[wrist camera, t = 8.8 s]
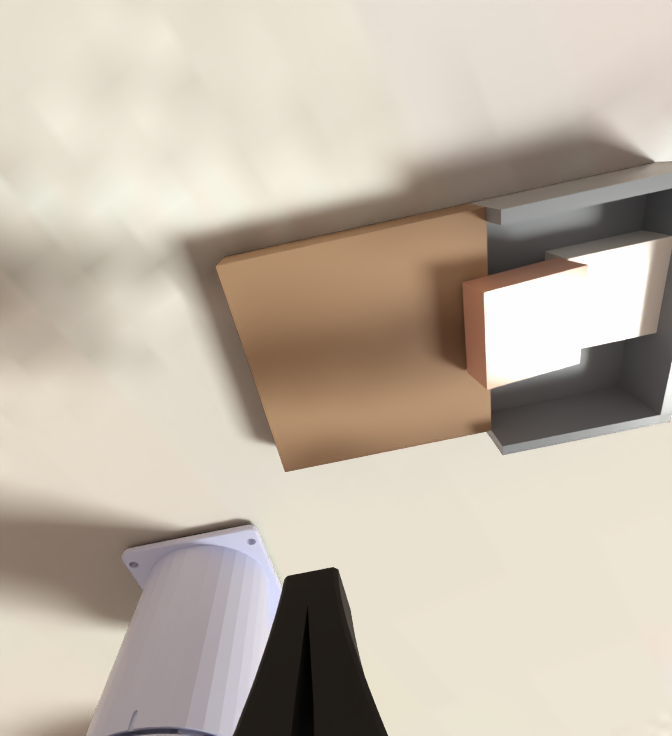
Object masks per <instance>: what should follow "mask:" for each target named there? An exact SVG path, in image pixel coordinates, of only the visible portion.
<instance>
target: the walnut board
mask: <svg viewBox="0 0 672 736" xmlns="http://www.w3.org/2000/svg"><path fill="white" fill-rule="evenodd" d="M215 267H216V270H217V273H218V275H219V278H220V281H221V284H222V287H223V290H224V293H225V296H226V299H227V302H228V305H229V308H230V311H231V314H232V317H233V320H234V323H235V326H236V329H237V332H238V335H239V337H240V340H241V343H242V346H243V349H244V352H245V355H246V358H247V361H248V364H249V367H250V370H251V373H252V376H253V379H254V382H255V385H256V388H257V391H258V394H259V396H260V399H261V402H262V405H263V408H264V411H265V414H266V417H267V420H268V423H269V426H270V429H271V432H272V435H273V438H274V441H275V444H276V447H277V450H278V453H279V456H280V458H281V461H282V464H283V467H284V470H285V472H288V471H293V470H298V469H303V468H308V467H313V466H318V465H323V464H328V463H333V462H338V461H343V460H348V459H353V458H358V457H363V456H368V455H373V454H377V453H382V452H387V451H392V450H397V449H402V448H407V447H412V446H417V445H422V444H427V443H432V442H437V441H442V440H447V439H452V438H457V437H462V436H467V435H472V434H477V433H482V432H487V431H491V395H490V389H488V390H487V389H486V388H484V387H483V386H482V385H481V384H480V383H479V382H477V381H476V380H475V379H474V378H473V377H472V376H471V375H469V374H468V373H467V360H466V342H465V324H464V307H463V289H462V282H466V281H470V280H474V279H477V278H481V277H485V276H488V262H487V218H486V207H484V206H479V205H473V204H463V205H459V206H454V207H449V208H445V209H440V210H436V211H431V212H427V213H422V214H418V215H413V216H409V217H404V218H400V219H395V220H390V221H386V222H381V223H377V224H372V225H368V226H363V227H359V228H354V229H350V230H345V231H340V232H336V233H331V234H327V235H322V236H318V237H313V238H309V239H304V240H300V241H295V242H290V243H286V244H281V245H277V246H272V247H268V248H263V249H259V250H254V251H250V252H245V253H240V254H236V255H231V256H227V257H224V258H223V259H222V260H221V261H220V262H219V263H218V264H217V265H216V266H215Z"/></svg>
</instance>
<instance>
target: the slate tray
mask: <svg viewBox="0 0 672 736" xmlns="http://www.w3.org/2000/svg"><path fill="white" fill-rule="evenodd" d="M468 204H473V205H479V206H484V207H486V218H487V262H488V276H489V275H493V274H496V273H500V272H504V271H508V270H512V269H516V268H519V267H523V266H527V265H531V264H535V263H538V262H542V261H545V251H549V250H553V249H558V248H562V247H567V246H572V245H576V244H581V243H585V242H590V241H595V240H599V239H604V238H608V237H613V236H618V235H622V234H627V233H631V232H636V231H640V230H643V231H649V232H655V233H661V234H667V235H672V161H670V162H654V163H649V164H645V165H640V166H636V167H631V168H627V169H622V170H618V171H613V172H609V173H604V174H599V175H595V176H590V177H586V178H581V179H577V180H572V181H568V182H563V183H559V184H554V185H549V186H545V187H540V188H536V189H531V190H527V191H522V192H518V193H513V194H509V195H504V196H499V197H495V198H490V199H486V200H481V201H477V202H472V203H468ZM490 395H491V431H487V433H488V435H489V436H490V437H491V439H492V440H493V442H494V443H495V445H496V446H497V448H498V449H499V450H500V452H501V453H502V455H506V454H511V453H516V452H521V451H526V450H531V449H536V448H541V447H546V446H551V445H556V444H561V443H566V442H571V441H576V440H581V439H586V438H591V437H596V436H601V435H606V434H611V433H616V432H621V431H626V430H631V429H636V428H641V427H646V426H651V425H656V424H661V423H666V422H670V419H671V415H672V251H671V256H670V262H669V267H668V272H667V278H666V283H665V289H664V294H663V299H662V305H661V310H660V315H659V321H658V326H657V332H656V333H653V334H648V335H644V336H639V337H634V338H629V339H624V340H620V341H615V342H610V343H605V344H601V345H596V346H591V347H586V348H581V352H580V362H579V364H575V365H572V366H568V367H565V368H561V369H558V370H554V371H551V372H547V373H544V374H540V375H537V376H533V377H530V378H527V379H523V380H520V381H516V382H513V383H509V384H506V385H502V386H499V387H495V388H492V389H490Z"/></svg>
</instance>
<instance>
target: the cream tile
mask: <svg viewBox="0 0 672 736" xmlns="http://www.w3.org/2000/svg"><path fill="white" fill-rule="evenodd" d="M671 251H672V235H667V234H661V233H655V232H649V231H643V230H640V231H636V232H631V233H627V234H622V235H618V236H613V237H608V238H604V239H599V240H595V241H590V242H585V243H581V244H576V245H572V246H567V247H562V248H558V249H553V250H549V251H545V261H546V260H550V259H554V258H561V259H565V260H570V261H574V262H578V263H582V264H587V265H588V275H587V286H586V297H585V308H584V319H583V330H582V341H581V348H586V347H591V346H596V345H601V344H605V343H610V342H615V341H620V340H624V339H629V338H634V337H639V336H644V335H648V334H653V333H656V332H657V326H658V321H659V315H660V310H661V305H662V299H663V294H664V289H665V283H666V278H667V272H668V267H669V262H670V256H671Z"/></svg>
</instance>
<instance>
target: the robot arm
mask: <svg viewBox="0 0 672 736" xmlns="http://www.w3.org/2000/svg"><path fill="white" fill-rule="evenodd" d="M121 559H122V561H123V562H124V564H125V565H126V567H127V568H128V570H129V571H130V573H131V574H132V575H133V577H134V578H135V580H136V581H137V583H138V584H139V586H140V587H141V589H142V590H143V591H142V594H141V597H140V599H139V602H138V604H137V607H136V609H135V612H134V614H133V617H132V619H131V622H130V624H129V627H128V629H127V632H126V634H125V637H124V640H123V642H122V645H121V647H120V650H119V652H118V655H117V657H116V660H115V662H114V665H113V667H112V670H111V672H110V675H109V677H108V680H107V683H106V685H105V688H104V690H103V693H102V695H101V698H100V700H99V703H98V705H97V708H96V710H95V713H94V715H93V718H92V721H91V723H90V726H89V728H88V731H87V733H86V736H388V734H387V732H386V730H385V727H384V725H383V722H382V720H381V717H380V715H379V712H378V710H377V707H376V705H375V702H374V699H373V697H372V694H371V692H370V689H369V686H368V684H367V681H366V678H365V676H364V672H363V668H362V665H361V661H360V657H359V652H358V648H357V643H356V638H355V634H354V628H353V622H352V616H351V610H350V607H349V603H348V600H347V597H346V594H345V590H344V587H343V584H342V580H341V577H340V574H339V570H338V569H336V568H334V567H332V568H326V569H321V570H316V571H311V572H306V573H300V574H295V575H290V576H287V577H286V578H285V579H284V583H283V588H282V586H281V584H280V581H279V579H278V576H277V574H276V572H275V569H274V567H273V564H272V562H271V560H270V557H269V555H268V552H267V550H266V548H265V545H264V543H263V540H262V538H261V536H260V533H259V531H258V529H257V527H255V526H254V525H244V526H239V527H234V528H229V529H224V530H219V531H213V532H208V533H203V534H198V535H193V536H188V537H183V538H178V539H173V540H168V541H163V542H158V543H153V544H148V545H143V546H138V547H133V548H128V549H126V550H125V551H124V552H123V554H122V557H121Z"/></svg>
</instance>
